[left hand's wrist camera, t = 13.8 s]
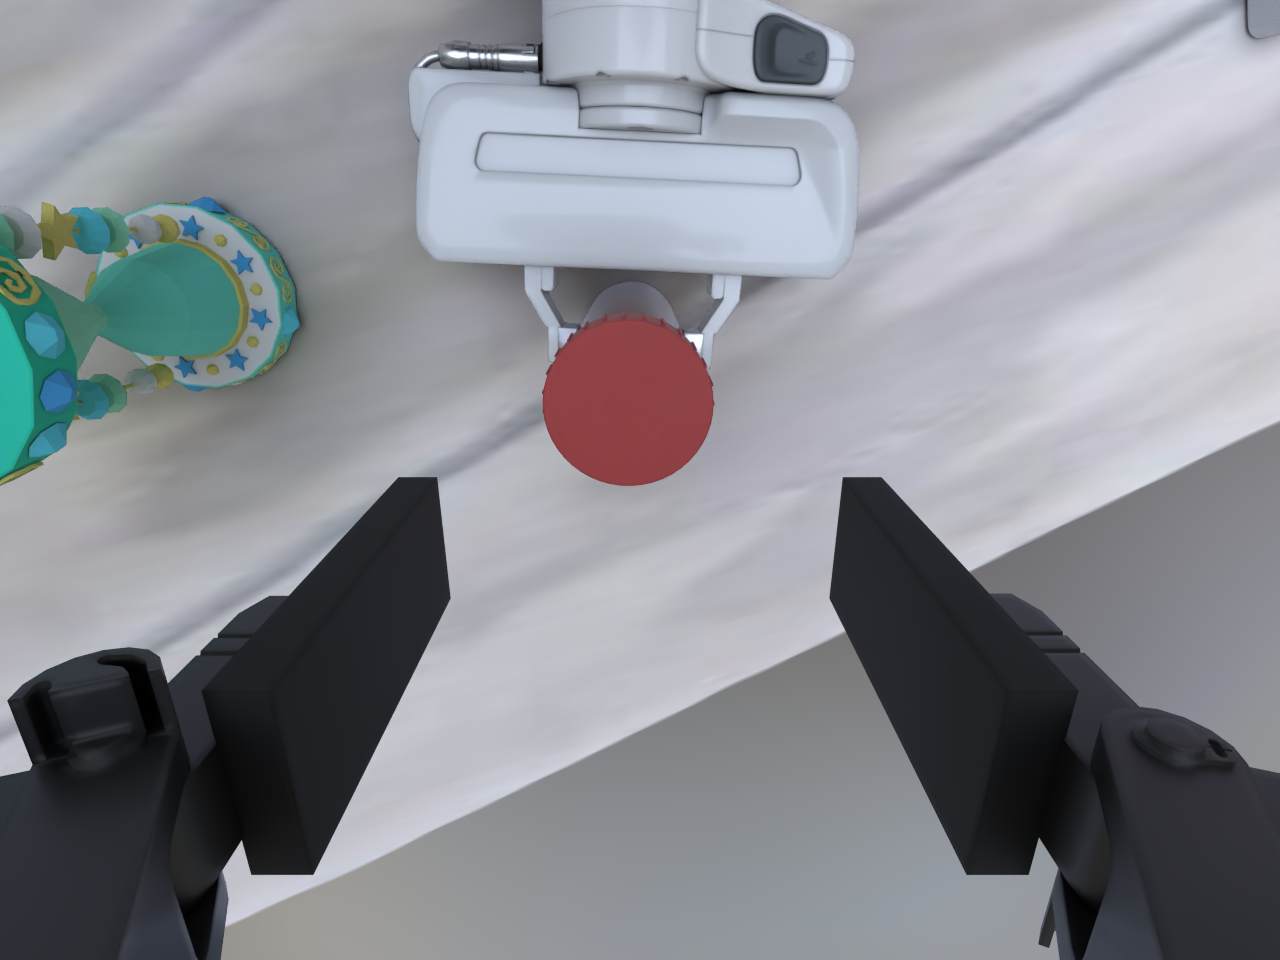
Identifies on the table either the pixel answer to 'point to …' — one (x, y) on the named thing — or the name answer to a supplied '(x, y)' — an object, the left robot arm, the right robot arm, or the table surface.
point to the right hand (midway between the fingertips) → (630, 363)
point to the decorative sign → (1263, 18)
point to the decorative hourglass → (131, 314)
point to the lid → (628, 399)
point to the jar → (631, 302)
